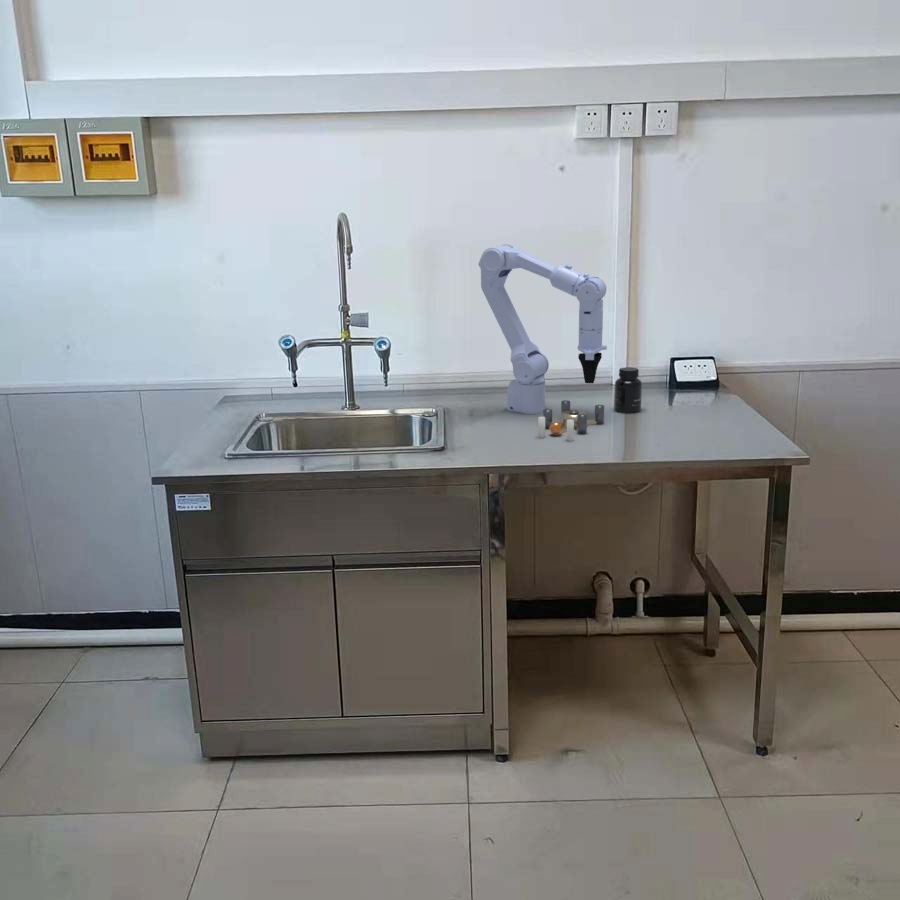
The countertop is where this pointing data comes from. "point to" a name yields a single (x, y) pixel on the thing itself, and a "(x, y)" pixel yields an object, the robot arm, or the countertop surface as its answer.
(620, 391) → the supplement bottle
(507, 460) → the countertop surface
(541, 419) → the white rounded posts
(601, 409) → the capstan
